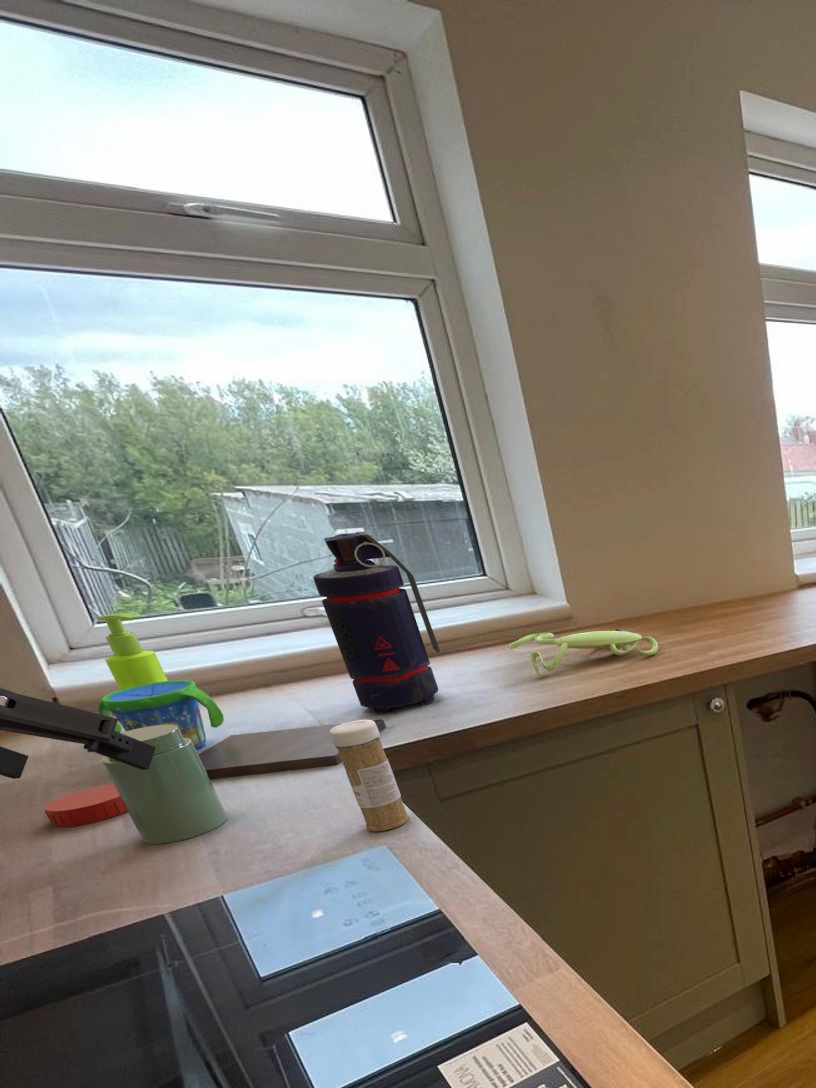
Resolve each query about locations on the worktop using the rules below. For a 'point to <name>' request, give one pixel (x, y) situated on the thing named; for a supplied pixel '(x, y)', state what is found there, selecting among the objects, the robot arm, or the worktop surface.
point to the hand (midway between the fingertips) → (85, 763)
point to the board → (273, 751)
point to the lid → (85, 806)
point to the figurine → (587, 644)
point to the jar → (167, 788)
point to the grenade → (376, 624)
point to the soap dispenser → (130, 655)
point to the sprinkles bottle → (369, 774)
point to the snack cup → (162, 708)
